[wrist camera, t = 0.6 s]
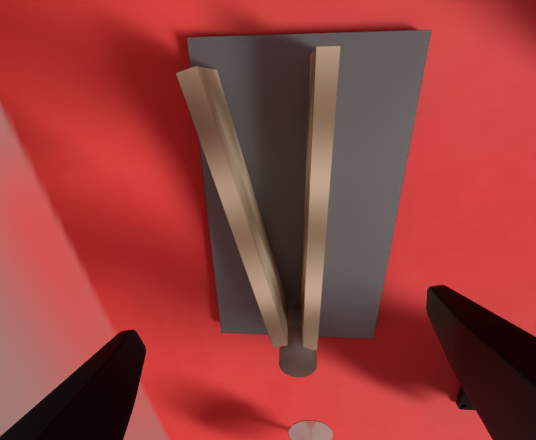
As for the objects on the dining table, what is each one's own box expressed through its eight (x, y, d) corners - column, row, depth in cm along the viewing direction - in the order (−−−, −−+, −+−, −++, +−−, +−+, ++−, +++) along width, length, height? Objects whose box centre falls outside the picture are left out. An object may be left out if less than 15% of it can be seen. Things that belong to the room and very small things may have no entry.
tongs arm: (287, 304, 23) (287, 345, 19) (275, 306, 23) (273, 347, 20) (217, 69, 16) (196, 66, 13) (200, 75, 16) (175, 72, 13)
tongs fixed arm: (311, 330, 24) (316, 378, 21) (280, 328, 25) (279, 376, 21) (328, 54, 16) (341, 44, 12) (281, 55, 16) (278, 46, 12)
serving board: (370, 329, 25) (373, 338, 24) (223, 324, 26) (221, 332, 25) (423, 32, 16) (431, 29, 15) (192, 39, 17) (186, 37, 16)
